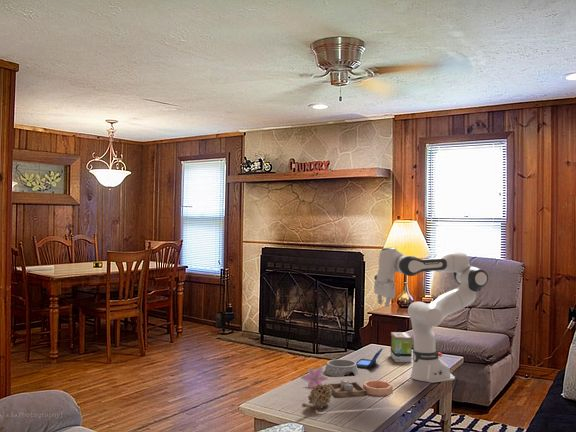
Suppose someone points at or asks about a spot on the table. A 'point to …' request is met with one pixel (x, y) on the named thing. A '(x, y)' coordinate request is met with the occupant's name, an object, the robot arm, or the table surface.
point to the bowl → (378, 387)
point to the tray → (340, 393)
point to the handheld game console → (368, 361)
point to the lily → (314, 377)
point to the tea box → (401, 347)
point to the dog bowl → (341, 367)
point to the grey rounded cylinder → (348, 387)
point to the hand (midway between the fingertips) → (383, 305)
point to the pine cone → (319, 396)
